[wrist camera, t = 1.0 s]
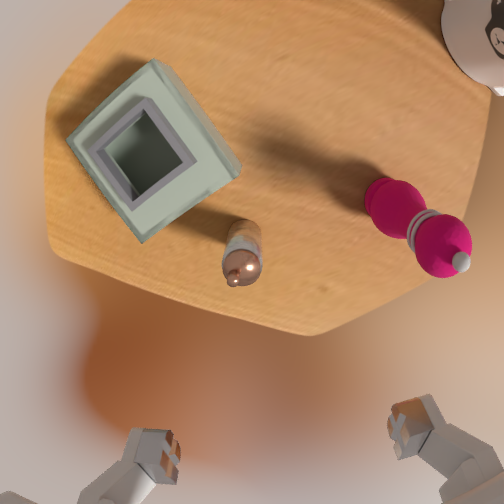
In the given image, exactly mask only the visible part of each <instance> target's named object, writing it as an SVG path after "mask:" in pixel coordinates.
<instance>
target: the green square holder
mask: <svg viewBox="0 0 504 504" xmlns="http://www.w3.org/2000/svg"><path fill="white" fill-rule="evenodd" d="M66 142H67V143H68V145H69V146H70V148H71V149H72V151H73V152H74V154H75V155H76V156H77V158H78V159H79V161H80V162H81V164H82V165H83V167H84V168H85V169H86V171H87V172H88V174H89V175H90V176H91V178H92V179H93V181H94V182H95V183H96V185H97V186H98V188H99V189H100V190H101V192H102V193H103V194H104V196H105V197H106V198H107V200H108V201H109V202H110V204H111V205H112V206H113V208H114V209H115V210H116V212H117V213H118V214H119V216H120V217H121V218H122V220H123V221H124V222H125V223H126V225H127V226H128V227H129V229H130V230H131V231H132V232H133V234H134V235H135V236H136V237H137V239H138V240H139V241H140V242H141V244H142V243H144V242H145V241H146V240H148V239H149V238H150V237H152V236H153V235H154V234H156V233H157V232H158V231H160V230H161V229H162V228H164V227H165V226H167V225H168V224H169V223H171V222H172V221H174V220H175V219H176V218H178V217H179V216H181V215H182V214H183V213H185V212H186V211H188V210H189V209H190V208H192V207H193V206H195V205H196V204H198V203H199V202H201V201H202V200H203V199H205V198H206V197H208V196H209V195H211V194H212V193H214V192H215V191H217V190H218V189H220V188H221V187H223V186H224V185H226V184H227V183H229V182H230V181H232V180H233V179H235V178H236V177H238V176H239V175H240V171H241V168H242V164H241V163H240V161H239V160H238V158H237V157H236V156H235V154H234V153H233V151H232V150H231V148H230V147H229V146H228V144H227V143H226V141H225V140H224V139H223V137H222V136H221V134H220V133H219V131H218V130H217V129H216V127H215V126H214V125H213V123H212V122H211V120H210V119H209V118H208V116H207V115H206V113H205V112H204V111H203V109H202V108H201V107H200V105H199V104H198V102H197V101H196V100H195V98H194V97H193V96H192V94H191V93H190V92H189V90H188V89H187V88H186V86H185V85H184V84H183V82H182V81H181V80H180V78H179V77H178V76H177V74H176V73H175V72H174V70H173V69H172V68H171V67H170V66H168V65H166V64H164V63H162V62H161V61H159V60H157V59H155V58H153V59H152V60H150V61H149V62H148V63H147V64H145V65H144V66H143V67H142V68H140V69H139V70H138V71H137V72H135V73H134V74H133V75H132V76H131V77H129V78H128V79H127V80H126V81H125V82H124V83H123V84H121V85H120V86H119V87H118V88H117V89H116V90H115V91H114V92H112V93H111V94H110V95H109V96H108V97H107V98H106V99H105V100H104V101H103V102H102V103H101V104H100V105H99V106H98V107H97V108H96V109H94V110H93V111H92V112H91V113H90V114H89V115H88V116H87V117H86V119H85V120H84V121H83V122H82V123H81V124H80V125H79V126H78V127H77V128H76V129H75V130H74V131H73V132H72V133H71V134H70V135H69V137H68V138H67V139H66Z"/></svg>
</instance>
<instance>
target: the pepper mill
mask: <svg viewBox="0 0 504 504" xmlns="http://www.w3.org/2000/svg"><path fill="white" fill-rule="evenodd" d="M365 208H366V210H367V212H368V214H369V215H370V216H371V218H372V220H373V223H374V224H375V226H376V227H377V228H378V229H379V230H380V231H381V232H382V233H384V234H386V235H387V236H390V237H393V238H398V239H407V242H408V245H409V247H410V248H411V250H412V251H413V252H414V253H415V254H416V258H417V261H418V263H419V264H420V266H421V267H422V268H423V269H424V270H425V271H426V272H427V273H429V274H430V275H432V276H435V277H438V278H447V277H451V276H454V275H455V274H457V273H458V272H464V271H466V270H467V269H468V268H469V266H470V263H471V261H470V255H471V250H472V240H471V236H470V233H469V231H468V229H467V227H466V226H465V225H464V223H463V222H462V221H460V220H459V219H458V218H456V217H454V216H451V215H447V214H441V213H440V212H438V211H436V210H433V209H427V208H426V205H425V201H424V199H423V197H422V196H421V194H420V193H419V191H418V190H417V189H416V188H415V187H413V186H412V185H411V184H409V183H407V182H405V181H400V180H394V179H392V178H381V179H378V180H376V181H374V182H373V183H372V184H371V185H370V186H369V188H368V189H367V192H366V194H365Z"/></svg>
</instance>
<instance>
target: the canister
mask: <svg viewBox="0 0 504 504" xmlns="http://www.w3.org/2000/svg"><path fill="white" fill-rule="evenodd" d="M222 269H223V274H224V276H225V278H226V279H227V284H228V285H229V286H230V287H236V286H247V285H250V284H252V283H254V282H255V281H256V280H257V279H258V278H259V276H260V273H261V271H262V241H261V230H260V228H259V226H258V225H257V224H256V223H255V222H253V221H251V220H247V219H242V220H238V221H236V222H235V223H234V224H232V226H231V227H230V229H229V233H228V237H227V242H226V246H225V251H224V255H223V260H222Z"/></svg>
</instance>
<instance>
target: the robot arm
mask: <svg viewBox="0 0 504 504" xmlns="http://www.w3.org/2000/svg"><path fill="white" fill-rule="evenodd" d="M444 1H445V6H444V9H443V12H442V17H441V27H442V33H443V37H444V40H445V43H446V45H447V48H448V50H449V52H450V54H451V55H452V57H453V59H454V60H455V62H456V63H457V64H458V66H459V67H460V68H461V69H462V70H463V71H464V72H465V73H466V74H467V75H468V76H469V77H470V78H472V79H473V80H475V81H477V82H479V83H481V84H484V85H486V86H488V87H489V88H490V89H491V90H492V91H493V92H494V93H495V94H496V95H497V96H504V0H444ZM391 411H392V414H391V415H390V416H389V418H388V421H387V428H388V432H389V436H390V438H391V439H392V440H394V441H396V442H395V444H394V450H395V453H396V456H397V458H398V460H401V459H404V458H407V457H411V456H414V455H417V454H418V456H419V457H420V458H422V459H423V460H424V461H426V462H427V463H428V464H430V465H431V466H432V467H433V468H434V469H436V470H437V471H438V472H440V473H441V474H442V475H444V476H445V477H446V478H447V479H448V480H447V481H446V482H445V483H444V484H443V485H442V486H441V488H440V489H439V492H440V495H441V498H442V501H443V503H442V504H504V469H503V467H502V465H501V463H500V461H499V459H498V457H497V455H496V453H495V451H494V449H493V447H492V446H490V445H488V444H487V443H485V442H483V441H481V440H479V439H477V438H476V437H474V436H472V435H470V434H468V433H466V432H465V431H463V430H461V429H459V428H457V427H456V426H454V425H452V424H447V423H446V421H445V420H444V418H443V416H442V414H441V412H440V410H439V408H438V406H437V404H436V403H435V401H434V399H433V397H432V395H430V394H426V395H423V396H420V397H416V398H413V399H410V400H406V401H403V402H400V403H396V404H394V405H393V406H392V408H391ZM173 435H174V434H173V433H172V431H171V430H161V429H146V428H132V429H131V431H130V433H129V436H128V440H127V443H126V446H125V449H124V453H123V456H122V460H121V461H117V462H116V463H115V464H113V465H112V466H111V467H110V468H109V469H107V471H105V472H104V473H103V474H102V475H100V476H99V477H98V478H97V479H96V480H95V481H93V482H92V483H91V484H90V485H88V486H87V487H86V488H85V489H84V490H82V491H81V493H80V496H79V499H78V502H77V504H140V503H141V501H142V500H143V499H144V498H145V497H146V496H147V495H148V493H149V492H150V491H151V490H152V489H153V488H154V487H155V485H156V483H159V484H172V485H176V484H177V478H178V469H177V468H176V465H177V464H178V463H179V462H180V458H181V448H180V445H179V443H178V441H177V440H175V439H173ZM0 504H37V503H35V502H33V501H30V500H28V499H26V498H24V497H22V496H20V495H18V494H16V493H14V492H11V491H6V492H4V493H2V494H0Z"/></svg>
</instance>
